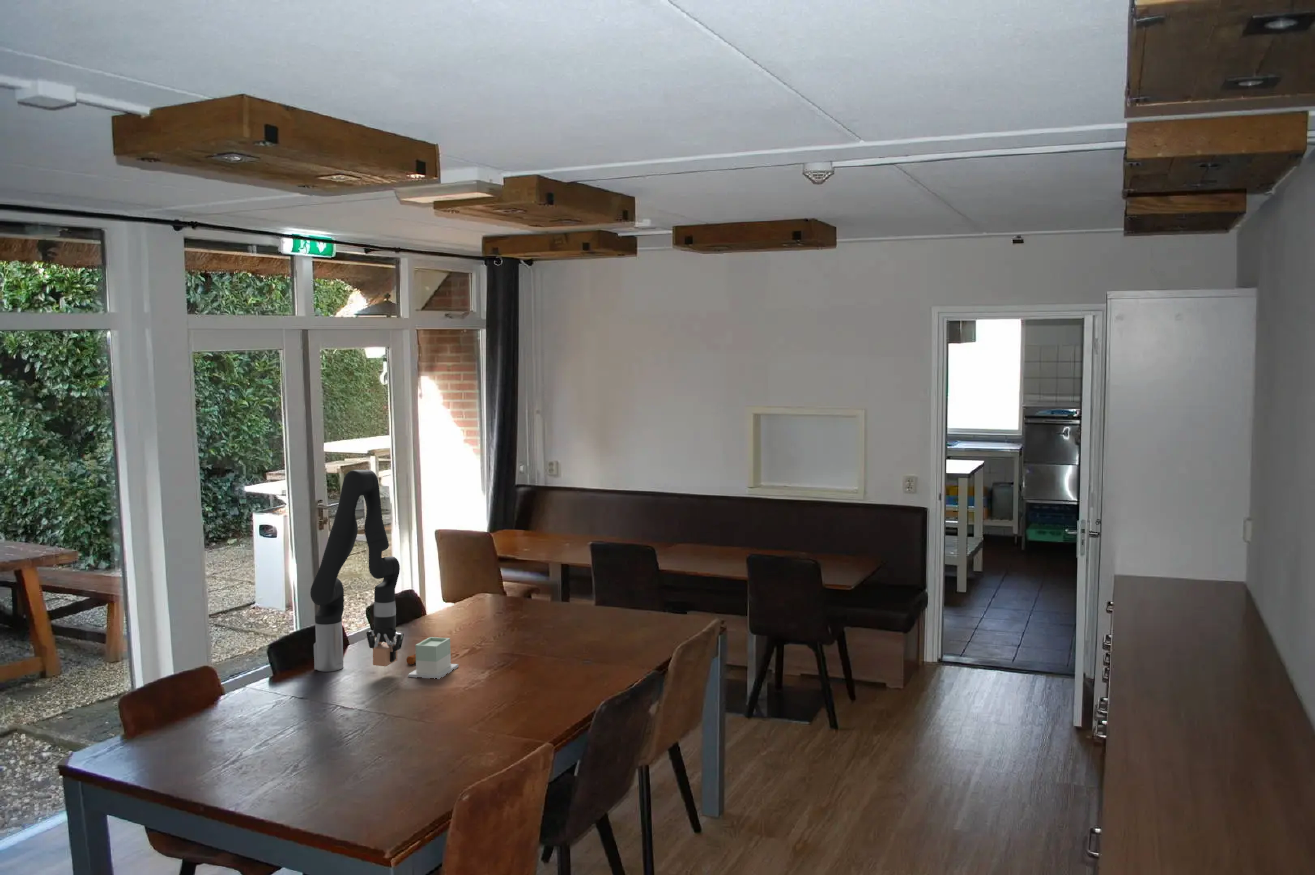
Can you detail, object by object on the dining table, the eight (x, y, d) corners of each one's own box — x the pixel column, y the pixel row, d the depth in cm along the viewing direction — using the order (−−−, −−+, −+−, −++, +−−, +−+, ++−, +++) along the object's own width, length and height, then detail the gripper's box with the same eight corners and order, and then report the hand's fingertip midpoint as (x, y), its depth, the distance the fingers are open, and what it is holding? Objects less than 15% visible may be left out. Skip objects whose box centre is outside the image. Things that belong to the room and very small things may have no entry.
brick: (385, 666, 367) (385, 649, 367) (372, 665, 368) (372, 648, 368) (397, 660, 375) (397, 643, 374) (385, 659, 376) (384, 642, 376)
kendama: (401, 653, 386) (435, 636, 404) (405, 669, 387) (438, 651, 405) (414, 652, 384) (447, 634, 402) (418, 668, 384) (450, 650, 402)
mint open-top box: (439, 679, 367) (438, 648, 366) (408, 676, 370) (407, 646, 369) (458, 667, 382) (457, 637, 381) (428, 664, 385) (427, 635, 384)
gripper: (408, 612, 372) (408, 660, 373) (372, 609, 376) (373, 656, 377) (397, 617, 365) (397, 665, 366) (361, 614, 369) (361, 662, 370)
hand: (385, 660), depth 372 cm, fingers closed on brick, 5 cm apart
